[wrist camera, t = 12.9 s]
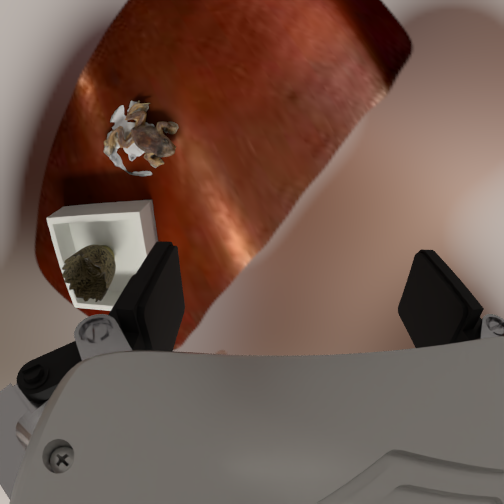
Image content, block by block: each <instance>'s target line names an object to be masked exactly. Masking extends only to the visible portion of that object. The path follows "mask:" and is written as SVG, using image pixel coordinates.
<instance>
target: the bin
mask: <svg viewBox="0 0 504 504" xmlns="http://www.w3.org/2000/svg"><path fill="white" fill-rule="evenodd" d="M47 222H48V226H49V230H50V234H51V238H52V241H53V245H54V248H55V252H56V255H57V258H58V262H59V265H60V268H61V271H62V274H63V272H64V271H65V270H62V267H63V266H64V265H65V263H64V261H65V260H66V259H68V258H69V257H71V256H72V255H73V254H75V253H76V252H78V251H79V250H81V249H82V248H84V247H86V246H89V245H107V246H109V247H110V248H111V249H112V250H113V252H114V255H115V264H116V270H115V275H114V278H113V280H112V282H111V284H110V286H109V288H108V290H107V293H106V295H105V296H104V297H103V299H102V300H101V301H99V300H98V301H97V302H95V301H96V299H92V298H90V299H89V300H88V301H86V302H85V301H84V300H83V299H82V298H77V297H76V295H75V294H74V290H73V289H72V290H69V286H70V283H66V286H67V288H68V291H69V294H70V297H71V299H72V302H73V305H74V307H76V308H86V309H97V310H108V311H111V310H112V308H113V306H114V305H115V303H116V301H117V300H118V298H119V296H120V295H121V293H122V291H123V290H124V288H125V286H126V285H127V283H128V281H129V280H130V278H131V277H132V276H133V275H134V274H136V273H137V271H138V269H139V268H140V266H141V265H142V263H143V262H144V260H145V258H146V257H147V255H148V254H149V252H150V251H151V249H152V247H153V246H154V244H155V243H156V242H158V238H157V231H156V224H155V217H154V210H153V203H152V200H138V201H122V202H109V203H96V204H85V205H74V206H64V207H62V208H61V209H59V210H58V211H56V212H55V213H53V214H52V215H50V216H49V217H47ZM64 280H65V278H64Z"/></svg>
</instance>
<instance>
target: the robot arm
mask: <svg viewBox="0 0 504 504" xmlns="http://www.w3.org/2000/svg"><path fill="white" fill-rule="evenodd" d="M184 309H185V304H184V297H183V289H182V281H181V273H180V265H179V256H178V248H177V246H173V244H172V242H156V243H155V244H154V246H153V247H152V249H151V251H150V252H149V254H148V255H147V257H146V258H145V260H144V262H143V263H142V265H141V266H140V268H139V269H138V271H137V273H136V274H134V275H133V276H132V277H131V278H130V280H129V281H128V283H127V285H126V286H125V288H124V290H123V291H122V293H121V295H120V296H119V298H118V300H117V301H116V303H115V305H114V306H113V308H112V310H111V311H110V313H109V315H104V314H98V315H93V316H90V317H88V318H86V319H84V320H83V321H82V322H80V323H79V324H78V326H77V327H76V329H75V332H74V337H75V341H74V342H72V343H70V344H67V345H65V346H63V347H61V348H58V349H56V350H54V351H52V352H50V353H47V354H45V355H43V356H40V357H38V358H36V359H34V360H31V361H29V362H28V363H26V364H25V365H24V366H23V367H22V368H21V369H20V371H19V373H18V376H17V384H16V385H14V386H12V384H11V383H10V384H9V385H8V386H7V387H5V388H4V389H3V390H2V391H0V485H1V486H2V488H3V489H4V491H5V493H6V494H7V496H8V497H9V499H10V504H504V320H503V319H502V318H500V317H499V316H496V315H493V314H488V315H485V316H484V317H483V319H481V318H480V315H481V313H482V311H483V308H482V306H481V305H480V303H479V302H478V301H477V300H476V298H475V297H474V296H473V295H472V293H471V292H470V291H469V290H468V289H467V288H466V286H465V285H464V284H463V283H462V282H461V280H460V279H459V278H458V277H457V276H456V275H455V273H454V272H453V271H452V270H451V269H450V268H449V267H448V266H447V264H446V263H445V262H444V261H443V260H442V259H441V258H440V257H439V256H438V255H437V254H436V252H435V251H433V250H420V251H419V252H418V253H417V254H416V255H415V257H414V260H413V264H412V267H411V270H410V274H409V276H408V280H407V283H406V286H405V289H404V292H403V295H402V298H401V300H400V303H399V306H398V313H399V316H400V318H401V320H402V321H403V323H404V325H405V327H406V329H407V331H408V333H409V335H410V337H411V339H412V341H413V343H414V345H415V347H416V348H414V349H405V350H395V351H384V352H372V353H358V354H339V355H311V356H310V355H309V356H256V355H253V356H252V355H226V354H207V353H191V352H173V347H174V344H175V340H176V337H177V334H178V330H179V327H180V324H181V321H182V317H183V314H184Z"/></svg>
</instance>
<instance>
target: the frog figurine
mask: <svg viewBox="0 0 504 504" xmlns="http://www.w3.org/2000/svg"><path fill="white" fill-rule="evenodd" d="M139 102H140V101H138V102H133V101H131V102H130V106H129V109H128V110H127V112H128V113H127V116H125V115H124V106H123V105H122V106H120V107H119V108H118V109H117V110H116V111H115V112H114V114H113V116H112V117H111V120H110V122H115V125H114V126H113V127H112V129H113V131H111V132H110V133H108V135H107V140H105V141H104V145H105V147H104V153H105V154H106V155H108V157H109V158H110V159H111V160H112V161H113V163H114V164H115V166H118V167H121V169H123V170H125V171H126V168H125V167H124V165H123V164H122V160H121V158H120V156H119V155H118V154H117V149H118V148H120V147H121V148H122V147H123V149H124V151H125V152H126V153H127V154H128V155H129V160H131V161H133V160H134V159H135V158H136V157H137V156H141V155H142V154H143V153H144V152H146V153H145V155H144V158H145V159H146V160H147V161H149V162H150V164H151V165H152V166H153V167H154V168H156V167H158V166H159V165H161V164H164V162H163V161H162V159H160V157H168V156H171V155H173V154H174V153H175V149H176V146H175V145H174V144H173V143H172V141H171V140H170V139H169V138H168V137H167V136H165V135H164V134H163V130H162V128H164V132H165V133H168V132H169V134H175V133H176V131H177V129H178V125H177V124H176V123H175V122H158V123H157V125H156V127H154V124H148V123H147V122H145V121H146V115H147V113H146V111H147V110H148V109H149V106H148V104H150V103H139ZM130 119H133V120H136V123H131V122H127V120H130ZM126 172H127V173H129V174H131V175H139V176H149V175H152V172H150V171H141V172H133V173H131V172H128V171H126Z"/></svg>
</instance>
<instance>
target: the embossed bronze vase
mask: <svg viewBox="0 0 504 504" xmlns="http://www.w3.org/2000/svg"><path fill="white" fill-rule="evenodd" d="M64 263H65V265H64V266H63V267H62V270H65V271H64V272H63V277H64V278H65V281H64V282H65V283H70V286H69V290H72V289H73V290H74V294H75V295H76V297H77V298H82V299H83V300H84V301H85V302H86V301H88V300H89V299H90V298H92V299H96V301H95V302H97V301H98V300H99V301H101V300H102V299H103V297H104V296H105V295H106V293H107V290H108V288H109V286H110V284H111V282H112V280H113V278H114V275H115V270H116V264H115V255H114V252H113V250H112V249H111V248H110V247H109V246H107V245H89V246H86V247H84V248H82V249H81V250H79V251H78V252H76V253H75V254H73V255H72V256H71V257H69V258H68V259H66V260H65V261H64Z"/></svg>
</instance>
